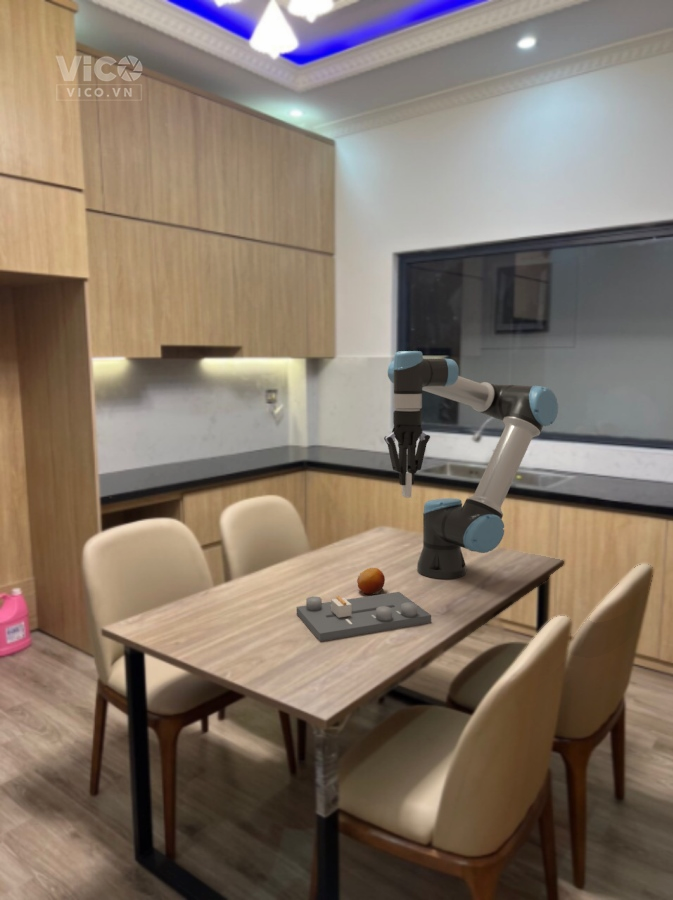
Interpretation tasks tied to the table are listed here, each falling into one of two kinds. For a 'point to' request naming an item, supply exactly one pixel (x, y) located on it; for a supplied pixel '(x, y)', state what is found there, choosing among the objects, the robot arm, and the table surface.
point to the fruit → (371, 581)
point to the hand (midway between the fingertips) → (406, 496)
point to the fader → (340, 607)
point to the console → (362, 616)
